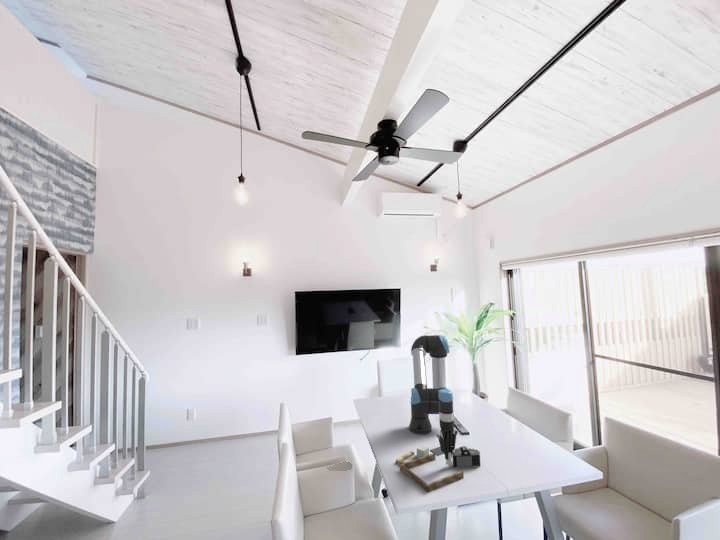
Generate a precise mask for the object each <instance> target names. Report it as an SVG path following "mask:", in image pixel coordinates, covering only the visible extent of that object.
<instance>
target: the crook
mask: <svg viewBox="0 0 720 540" xmlns="http://www.w3.org/2000/svg"><path fill="white" fill-rule="evenodd" d="M414 456H415V451H413V450H411V451H409V452H408V453H406V454H404V455H402V456H400V457H398V458H396V460H395V463H396V464H397V465H398V466H400V465H401V464H404V463H407V460H408V459H410V458H412V457H414Z"/></svg>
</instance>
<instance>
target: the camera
mask: <svg viewBox="0 0 720 540" xmlns="http://www.w3.org/2000/svg"><path fill="white" fill-rule="evenodd" d="M452 465H453V468H480V467H481V451H480V450H479V449H475V448H468V446H465V445H463V446H460V447H458V448H457V447H455V450H453V453H452Z"/></svg>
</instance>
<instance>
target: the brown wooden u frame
mask: <svg viewBox="0 0 720 540" xmlns="http://www.w3.org/2000/svg"><path fill="white" fill-rule="evenodd" d="M435 460H436V454H434V453H433V452H432V453H429V455H427V456H424V457H421V458H416V459H413V460H410V461H406V463H404V464H401V465H399V471H400V472H401V473H403V474H404V475H405V476H407V478H409V479H410V480H411V481H412V482H414V483H415V484H417V485H418V486H419V487H420V488H421V489H423V490H424V491H425V492H427V493H430V492H432V491H435V490H438V489H441V488H443V487H445V486H447V485H450V484H452V483H454V482H457V481H460V480H461V479H464V471H463V470H459V471H457V472H454V473H453V474H450V475H447V476H445V477H442V478H440V479H437V480H433V481H432V482H429V483H427V482H426V481H425V480H424V479H422V478H421V477H419V475H417V474H416V473H414V472H413V471H411V469H413V468H416V467H419V466H421V465H425V464H426V463H429V462H432V461H435Z"/></svg>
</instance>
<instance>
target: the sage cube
mask: <svg viewBox="0 0 720 540" xmlns="http://www.w3.org/2000/svg"><path fill="white" fill-rule="evenodd" d="M427 455H430V448H429V446H425V445H419V446H418V447H417V448H416V459H418V458H421V457H424V456H427Z"/></svg>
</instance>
